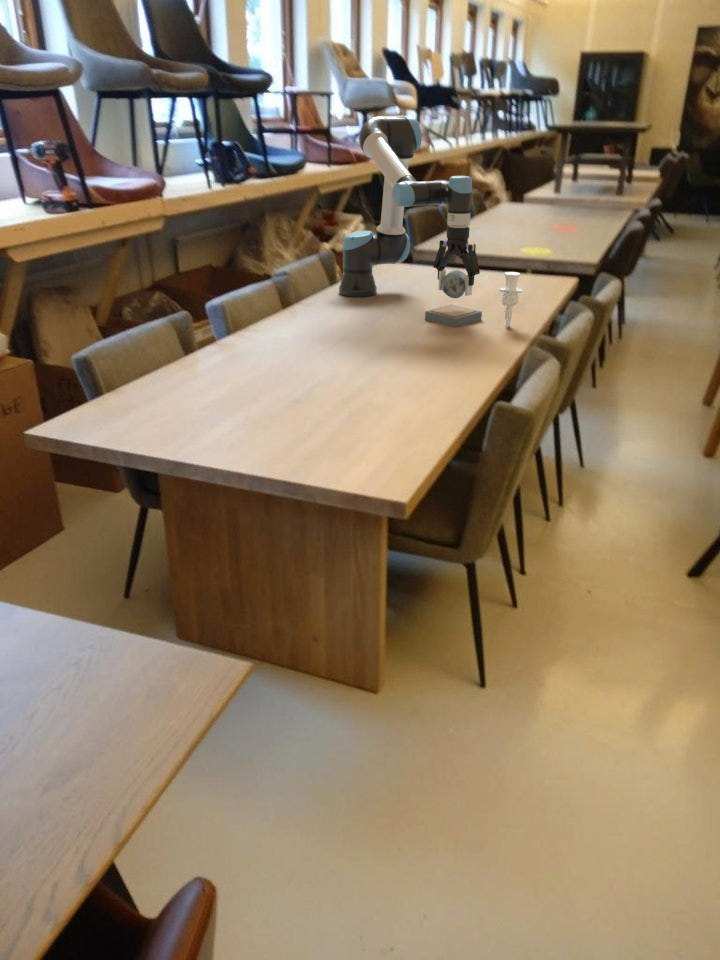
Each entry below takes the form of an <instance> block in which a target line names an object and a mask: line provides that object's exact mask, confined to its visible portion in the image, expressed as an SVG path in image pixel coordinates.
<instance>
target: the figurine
mask: <svg viewBox="0 0 720 960" xmlns="http://www.w3.org/2000/svg"><path fill="white" fill-rule="evenodd" d="M520 275H521V272H517V271H505V272H504V276H505V284H504V285H505V286H502V287H500V288H499V289H498V291H499V292H500V293H502V297H501V299H500V301H501V304H502V305H503V306H505V307H506V308H505V310H504V311H503V312H504V319H505V325H504V327H506V328H509V327H510V325H511V321H512V317H513V307H515V306H516V305H517V304H518V303H519V301H520V300H519V295H518V294H521V293H523V289H522V288H521V287H518V281H519V277H520Z"/></svg>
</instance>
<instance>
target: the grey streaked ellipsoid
mask: <svg viewBox="0 0 720 960" xmlns="http://www.w3.org/2000/svg"><path fill="white" fill-rule="evenodd" d="M467 275H468V274H467V273H465V272H464V271H462V270H458V269H456V270H451V271H449V272H448V273H446V276H445V278H444V280H443V282H442V290H441V291H442V292H443V293H444V294H445V295H446V296H447V297H449V298H452V299H459V298H461V297H462V296H464V295H465V285H466V276H467Z"/></svg>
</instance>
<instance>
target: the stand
mask: <svg viewBox="0 0 720 960" xmlns="http://www.w3.org/2000/svg"><path fill="white" fill-rule="evenodd" d="M482 314H483V311H480V310H476V309H473V308H472V309H471V308H467V307H463V306H458V305H453V304H448V305H445V306H441V307H438V308H433V309H429V310H426V311H424V320H425V321H428V322H432V323H436V324H439V325H444V326H448V327H449V326H450V327H453V328H458V327H461V326H466V325H468V324H472V323H476V322H479V321H482Z"/></svg>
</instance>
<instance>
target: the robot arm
mask: <svg viewBox="0 0 720 960" xmlns="http://www.w3.org/2000/svg"><path fill="white" fill-rule="evenodd" d="M421 129H422V128H421V126H420V123H419V121H418V120H417V119H416V118H415V117H413V116H409V115H408V116H407V115H386V116H385V115H384V116H383V115H381V116H380V115H377V116H376V115H375V116H373V117H370V118H369V119H368V120H367V121H366V122H364V123H363V125H362V126H361V128H360V131H359V135H358V143H359V145H360V146H359V147H360V148H361V151H362V152H363V154H364V155H365V156H366V157H367V158H370V159H372V162H374V164H375V165H376V166H377V168H378V169H379V171H380V172H381V174H382V175H383V176H384V181H383V191H382V192H383V193H382V203H381V204H382V205H381V214H380V215H381V216H380V224H379V225H377V227H376V229H375V230H376V231H375V234H374V233H373V231H371V230H357V231H353V232H349V233H347V234H345V235H344V237H343V239H342V241H343V242H342V264H343V265H342V269H343V270H342V273H343V274H342V277H341V281H340V285H339V286H338V293H339V295H341V296H345V297H346V296H347V297H353V298H362V297H370V296H374V295H377V285H376V282H375V279H374V275H373V266H377V265H390V264H391V265H395V264H399V263H402V262H404V261H405V260H406V259H407V258H408V256H409V253H410V250H411V248H410V247H411V241H410V240H411V239H410V237H409V235H408V233H406V229H405V227H404V226H403V223H404V222H403V221H404V213H405V207H406V208H409V207H419V206H420V207H421V206H434V205H435V206H437V205H438V206H440V205H444V206H447V222H446V223H447V224H446V225H447V226H446V238H447V239H441V240H439V243H438V244H439V246H438V250H437V253H436V256H435V259H434V261H433V266H432V268H434V269H436V270H437V280H438V288H437V289H438V291H443V290H442V282H443V280H444V278H445V276H446V275H447V270H446V269H445V268H446V267H447V265H448V264H449V262H450V259H451V258H452V257H453V256H458V257H459V259H461V261H462V264H463V266H464V268H465V271H466V275H467V276H466V285H465V292H464V296H466V297H467V296H472V294H473V293H472V292H473V286H474V285H475V276H477V275H480V273H481V271H480V267H479V262H478V258H477V256H478V255H477V251H476V247H477V246H476V245H477V244H475V243H472V244H471V243H469V238H470V230H471V229H470V227H469V226H470V225H471V209H472V195H473V179H472V177H471V176H468V175H452V176H450V177H449V179H448V180H446V179H436V180H428V181H426V180H425V181H418V180H416V178H415V177H414V176H413V175H412V174H411V172H410V171H409V163H410V161H411V160H413V158H414V155H415V154H414V153H415V152H416V151H419V149H420V147H421V146H422V140H423V139H422V137H423V136H422V130H421Z"/></svg>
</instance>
